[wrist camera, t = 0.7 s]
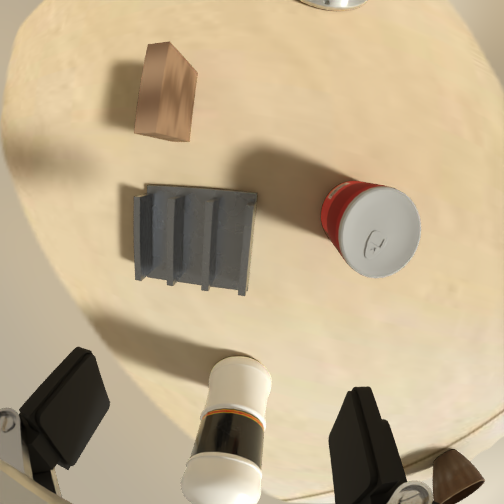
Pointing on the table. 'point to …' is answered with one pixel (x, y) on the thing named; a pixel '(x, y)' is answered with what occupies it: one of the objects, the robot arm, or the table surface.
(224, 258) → the rack
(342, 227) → the canned food
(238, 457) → the vodka
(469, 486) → the plant pot
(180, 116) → the board
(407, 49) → the table surface
